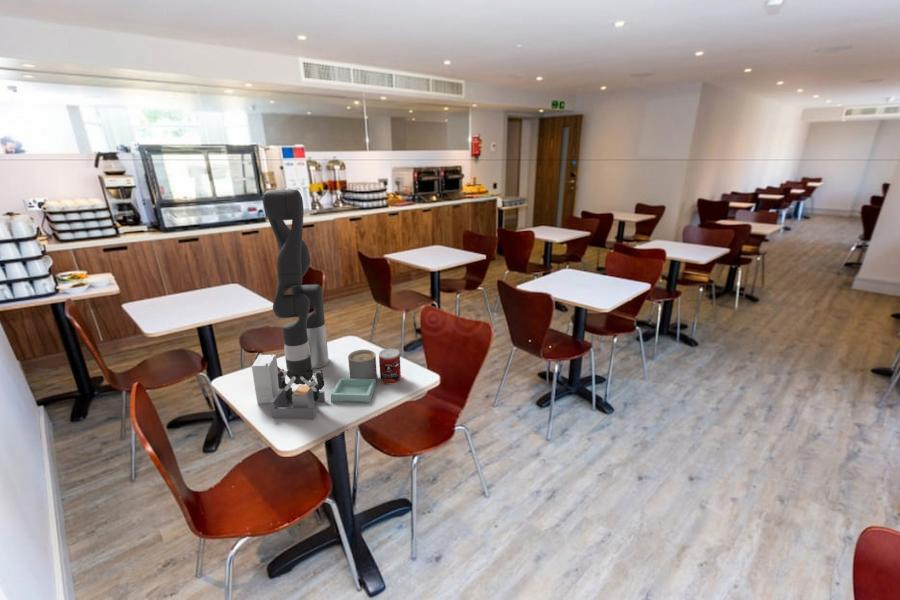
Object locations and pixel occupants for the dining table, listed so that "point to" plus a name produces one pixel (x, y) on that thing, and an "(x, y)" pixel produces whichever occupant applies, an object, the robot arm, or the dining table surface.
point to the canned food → (389, 366)
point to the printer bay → (291, 412)
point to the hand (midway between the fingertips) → (303, 399)
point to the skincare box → (265, 378)
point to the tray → (353, 390)
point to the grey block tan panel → (303, 397)
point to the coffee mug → (362, 364)
